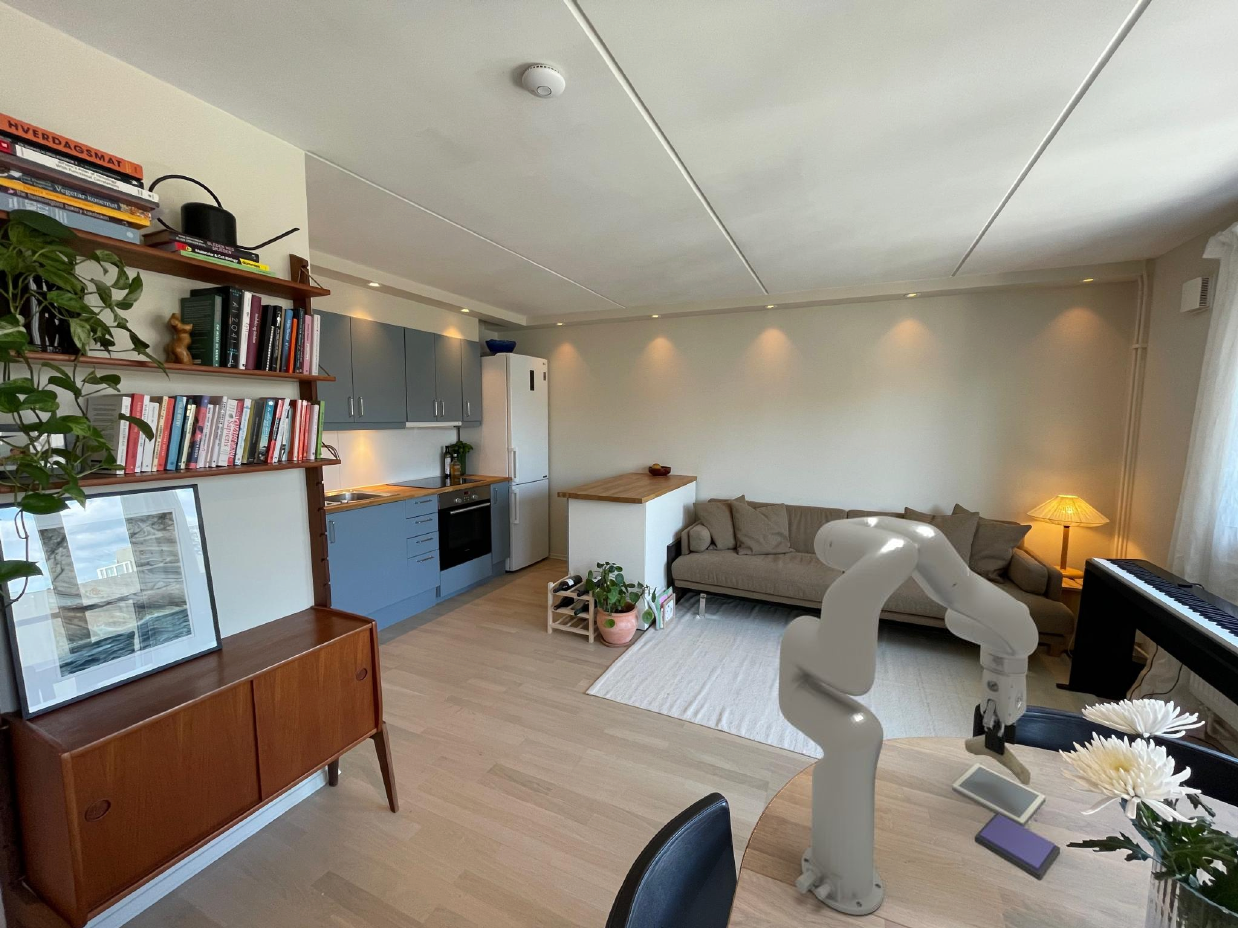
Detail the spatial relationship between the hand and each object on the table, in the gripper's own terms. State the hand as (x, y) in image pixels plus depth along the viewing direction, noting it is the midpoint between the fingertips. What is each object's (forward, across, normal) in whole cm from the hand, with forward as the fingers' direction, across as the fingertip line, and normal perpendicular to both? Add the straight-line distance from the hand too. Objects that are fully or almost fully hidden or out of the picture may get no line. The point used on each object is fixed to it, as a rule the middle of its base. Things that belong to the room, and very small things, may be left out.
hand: (1000, 745), depth 100 cm
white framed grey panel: (+11, 0, 0) cm, 11 cm away
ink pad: (+11, -12, -7) cm, 18 cm away
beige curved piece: (+4, -2, 0) cm, 4 cm away
